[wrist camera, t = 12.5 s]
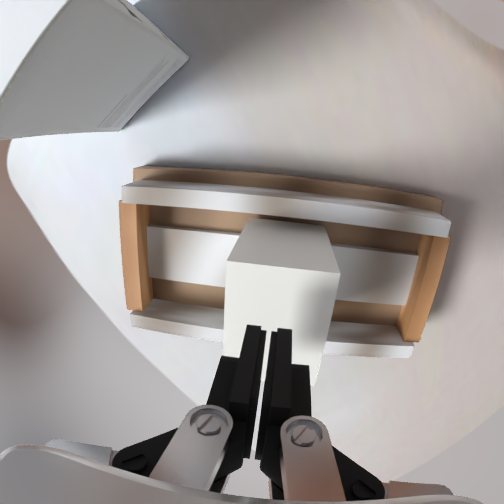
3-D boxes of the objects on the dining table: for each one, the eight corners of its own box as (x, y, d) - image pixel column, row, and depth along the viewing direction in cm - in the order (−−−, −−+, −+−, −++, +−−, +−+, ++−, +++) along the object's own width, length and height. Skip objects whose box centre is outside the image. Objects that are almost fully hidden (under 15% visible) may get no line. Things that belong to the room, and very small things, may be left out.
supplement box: (194, 58, 18) (84, -13, 6) (119, 134, 20) (-24, 151, 9) (133, 1, 17) (20, -66, 5) (68, 73, 19) (-64, 61, 7)
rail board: (433, 196, 19) (460, 209, 16) (398, 335, 23) (412, 366, 19) (143, 165, 21) (114, 173, 17) (148, 306, 25) (126, 333, 21)
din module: (324, 225, 19) (340, 273, 12) (310, 315, 21) (314, 388, 15) (249, 217, 19) (226, 260, 13) (242, 307, 22) (222, 377, 15)
